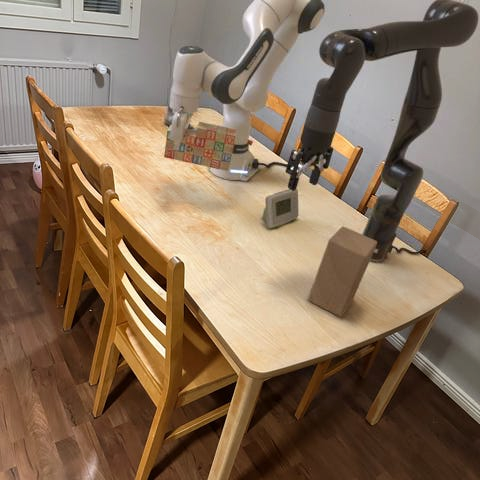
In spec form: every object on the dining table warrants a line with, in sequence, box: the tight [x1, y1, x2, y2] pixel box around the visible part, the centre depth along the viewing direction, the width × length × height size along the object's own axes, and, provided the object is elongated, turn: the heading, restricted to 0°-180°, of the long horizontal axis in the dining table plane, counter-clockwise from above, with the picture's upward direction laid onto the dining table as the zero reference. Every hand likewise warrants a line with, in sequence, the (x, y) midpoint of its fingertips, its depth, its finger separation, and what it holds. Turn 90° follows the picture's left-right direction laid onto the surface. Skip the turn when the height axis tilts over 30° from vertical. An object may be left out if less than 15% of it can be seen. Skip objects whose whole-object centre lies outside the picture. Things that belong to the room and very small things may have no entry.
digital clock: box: [261, 188, 299, 229], centre depth 151 cm, size 16×9×11 cm, turn 123°
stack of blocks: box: [163, 121, 236, 171], centre depth 142 cm, size 21×6×12 cm, turn 88°
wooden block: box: [307, 226, 377, 318], centre depth 116 cm, size 10×10×20 cm
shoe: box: [163, 99, 197, 130], centre depth 205 cm, size 25×11×12 cm, turn 30°
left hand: (178, 145), depth 143 cm, fingers closed on stack of blocks, 6 cm apart
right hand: (302, 186), depth 113 cm, fingers open, 8 cm apart
